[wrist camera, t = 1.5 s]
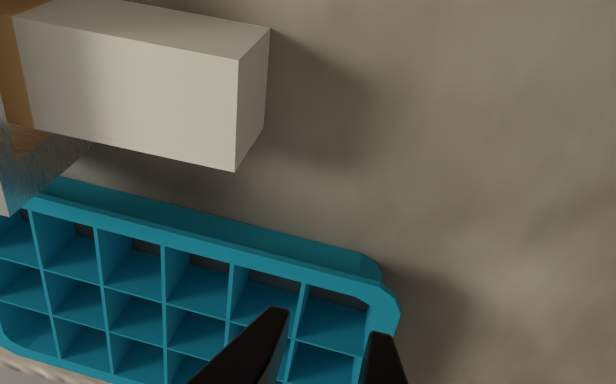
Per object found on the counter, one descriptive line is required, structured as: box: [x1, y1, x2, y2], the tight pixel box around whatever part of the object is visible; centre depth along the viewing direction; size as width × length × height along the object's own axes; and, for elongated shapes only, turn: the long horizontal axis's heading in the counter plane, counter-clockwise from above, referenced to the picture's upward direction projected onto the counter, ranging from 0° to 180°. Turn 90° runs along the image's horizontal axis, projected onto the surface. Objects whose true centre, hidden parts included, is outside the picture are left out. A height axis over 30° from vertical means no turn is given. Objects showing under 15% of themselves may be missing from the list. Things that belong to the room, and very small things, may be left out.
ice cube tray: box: [0, 176, 401, 384], centre depth 26 cm, size 12×20×3 cm, turn 82°
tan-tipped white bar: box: [0, 0, 271, 173], centre depth 19 cm, size 10×4×4 cm, turn 83°
